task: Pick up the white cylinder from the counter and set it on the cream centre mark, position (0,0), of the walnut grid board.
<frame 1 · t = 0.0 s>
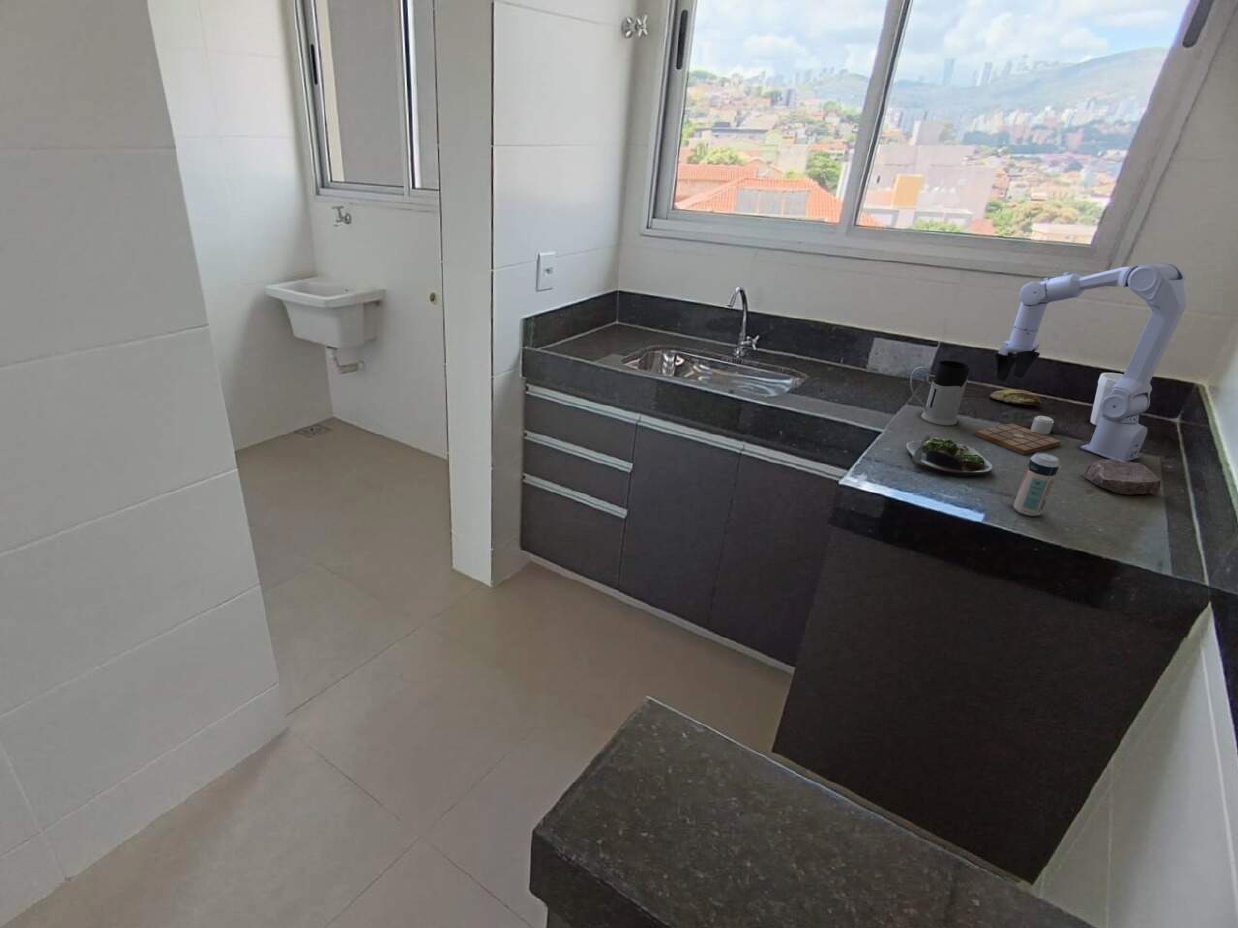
hand: (1009, 378, 178), 10 cm above the countertop, tool pointing down, fingers open, 7 cm apart
stone: (1119, 487, 143), on the countertop
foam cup: (1103, 424, 178), on the countertop
white cylinder: (1040, 431, 171), on the countertop
board: (1017, 440, 164), on the countertop
salad plate: (945, 463, 150), on the countertop
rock: (1014, 402, 192), on the countertop
supplement jar: (1026, 512, 130), on the countertop
glass holder: (928, 418, 175), on the countertop
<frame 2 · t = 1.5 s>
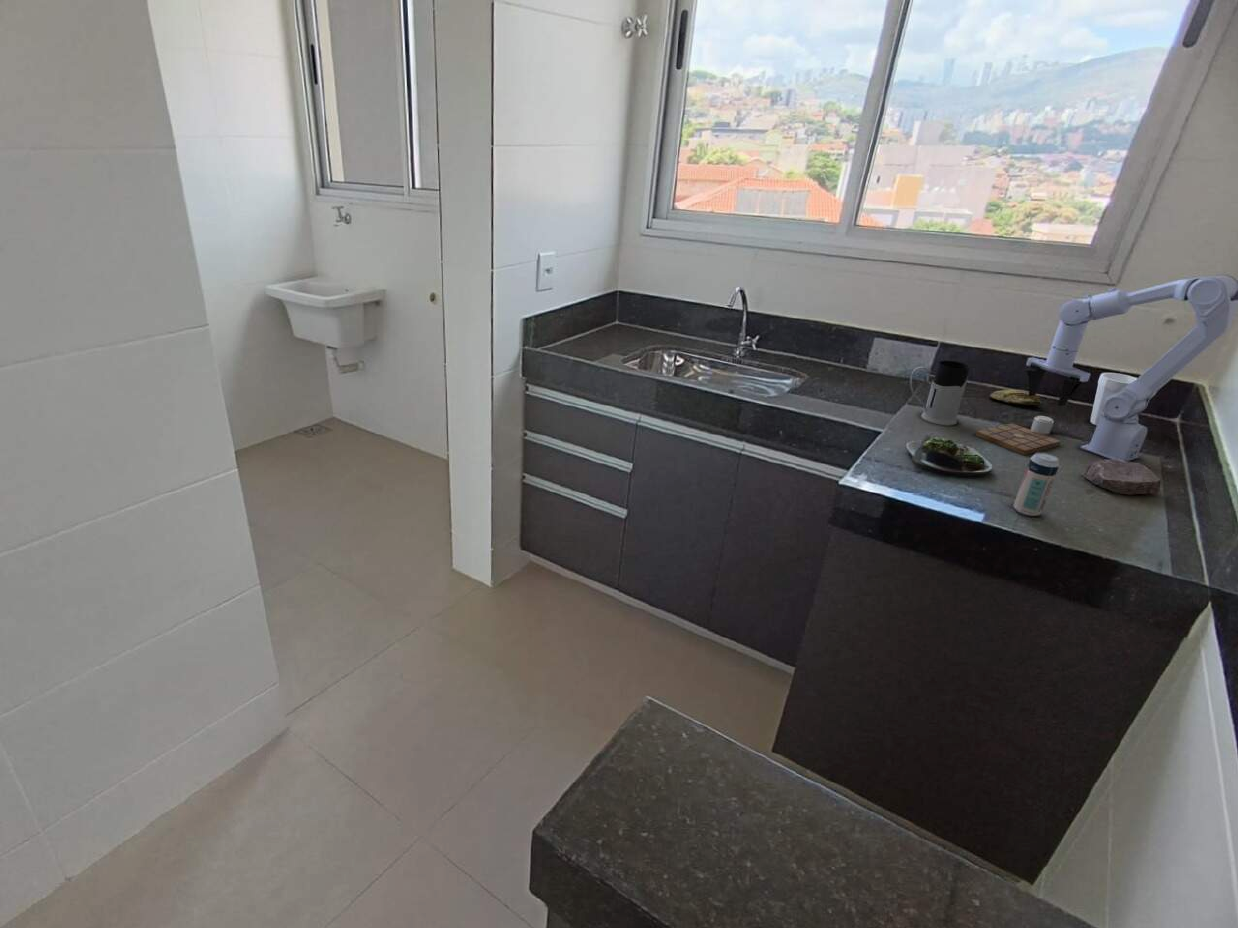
hand: (1046, 400, 168), 8 cm above the countertop, tool pointing down, fingers open, 7 cm apart
nothing on the countertop moved.
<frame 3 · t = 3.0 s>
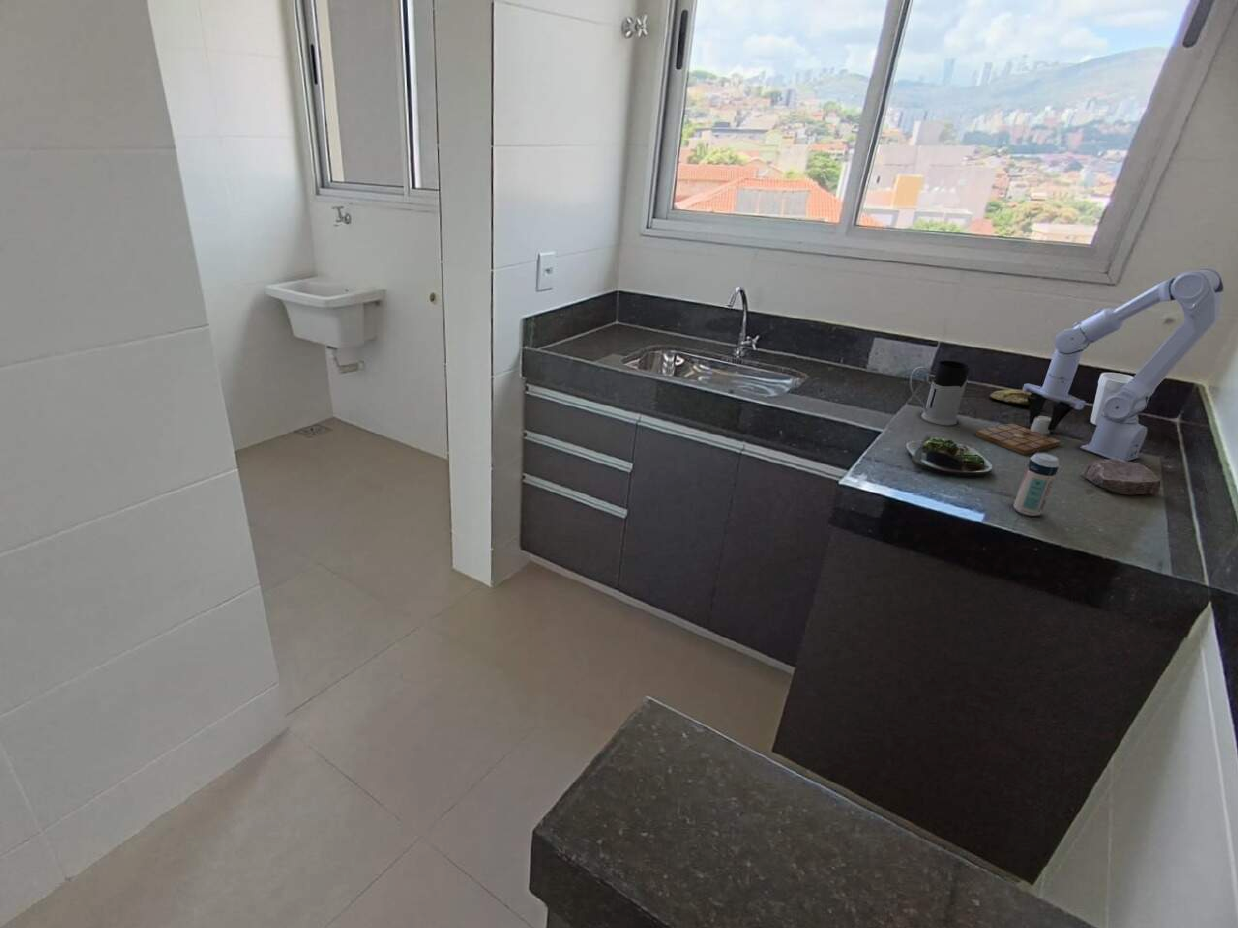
hand: (1042, 426, 170), 1 cm above the countertop, tool pointing down, fingers closed on white cylinder, 4 cm apart
white cylinder: (1040, 431, 171), on the countertop, touching gripper
everything else where it was.
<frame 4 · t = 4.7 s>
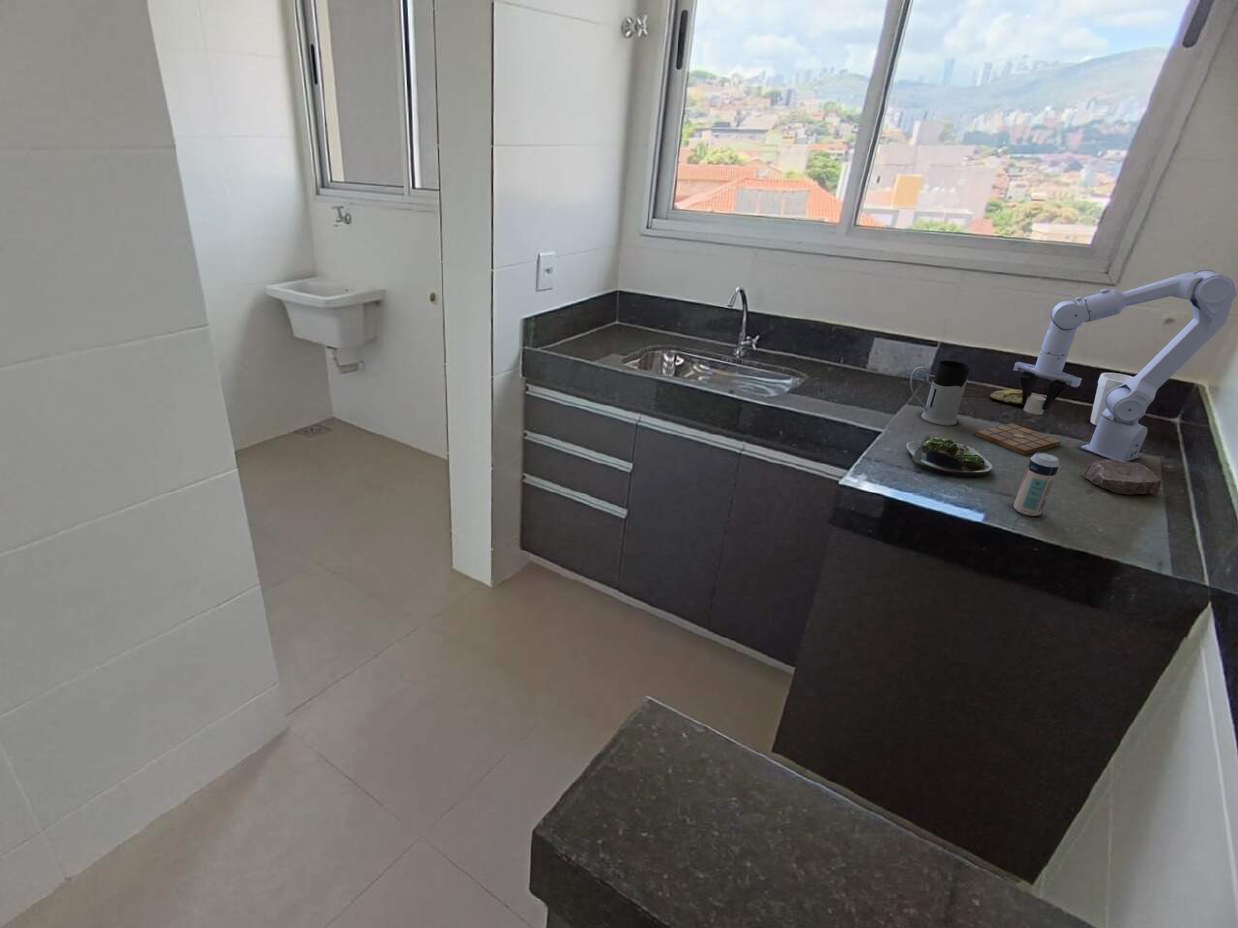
hand: (1035, 406, 163), 8 cm above the countertop, tool pointing down, fingers closed on white cylinder, 4 cm apart
white cylinder: (1033, 411, 163), point 7 cm above the countertop, touching gripper
everything else where it was.
when the fingers open (3 cm above the countertop, at t = 6.9 s): white cylinder stays where it is, resting on board.
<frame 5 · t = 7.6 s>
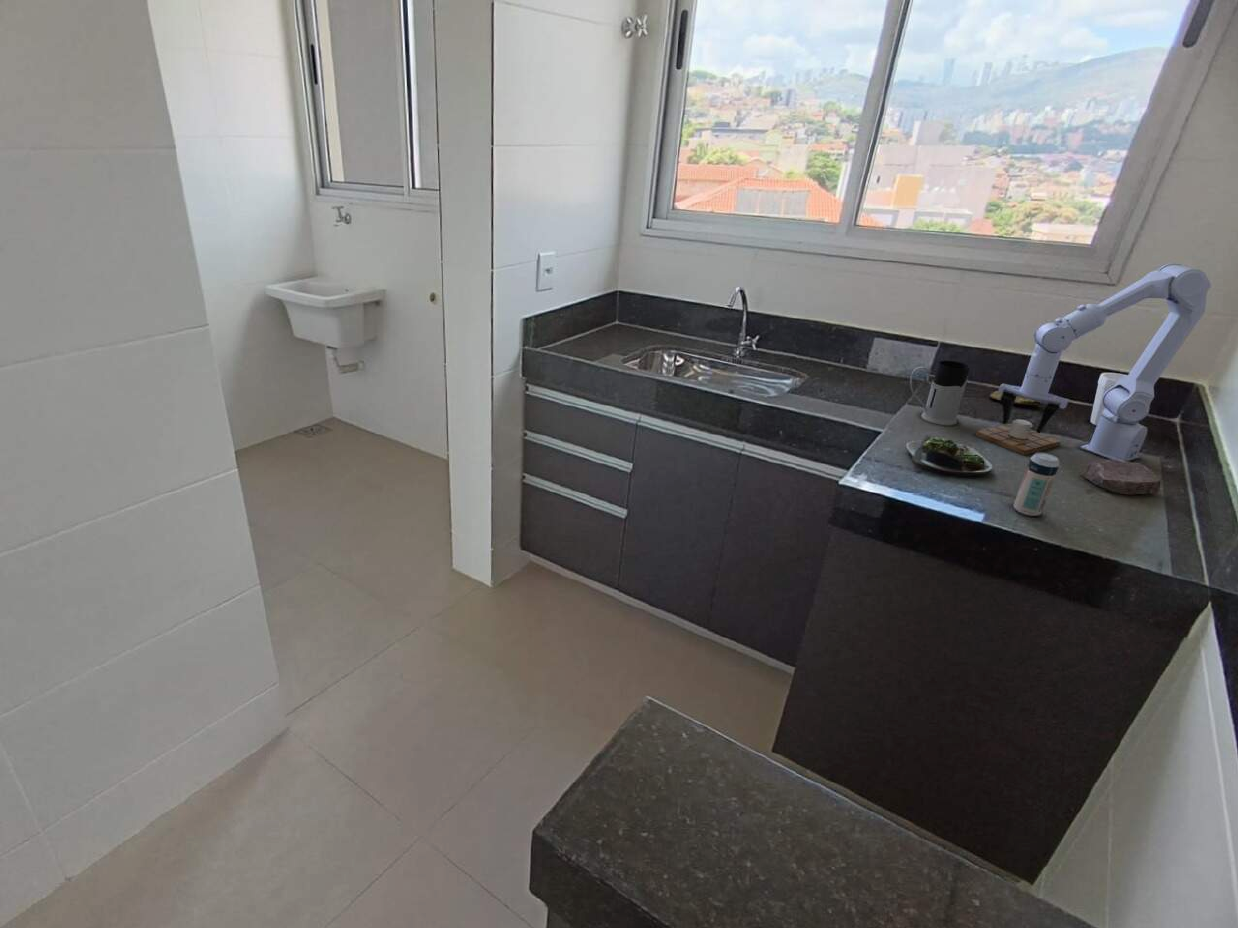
hand: (1021, 427, 163), 4 cm above the countertop, tool pointing down, fingers open, 7 cm apart
white cylinder: (1018, 435, 164), point 1 cm above the countertop, touching board
everything else where it was.
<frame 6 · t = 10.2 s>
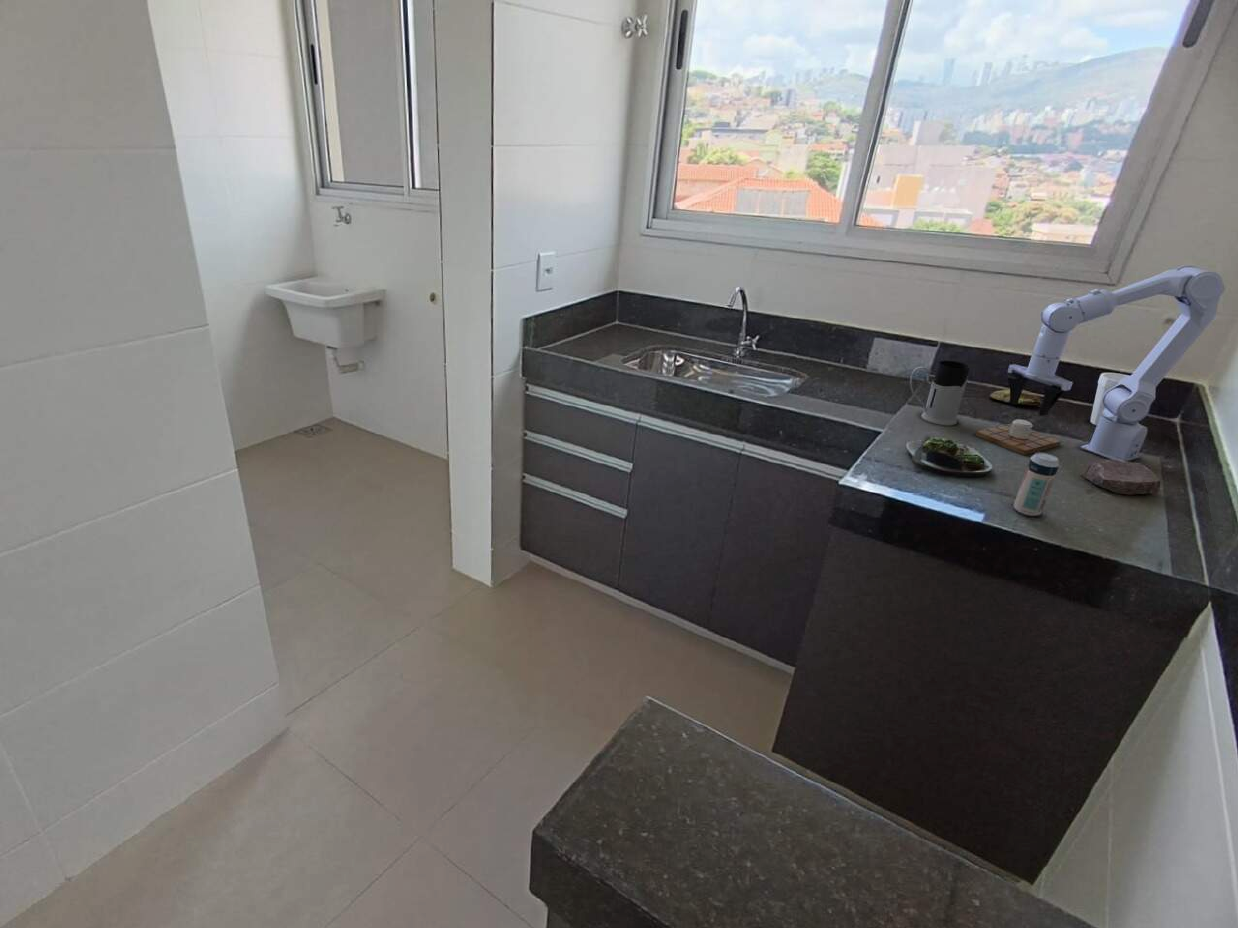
hand: (1027, 409, 161), 8 cm above the countertop, tool pointing down, fingers open, 7 cm apart
nothing on the countertop moved.
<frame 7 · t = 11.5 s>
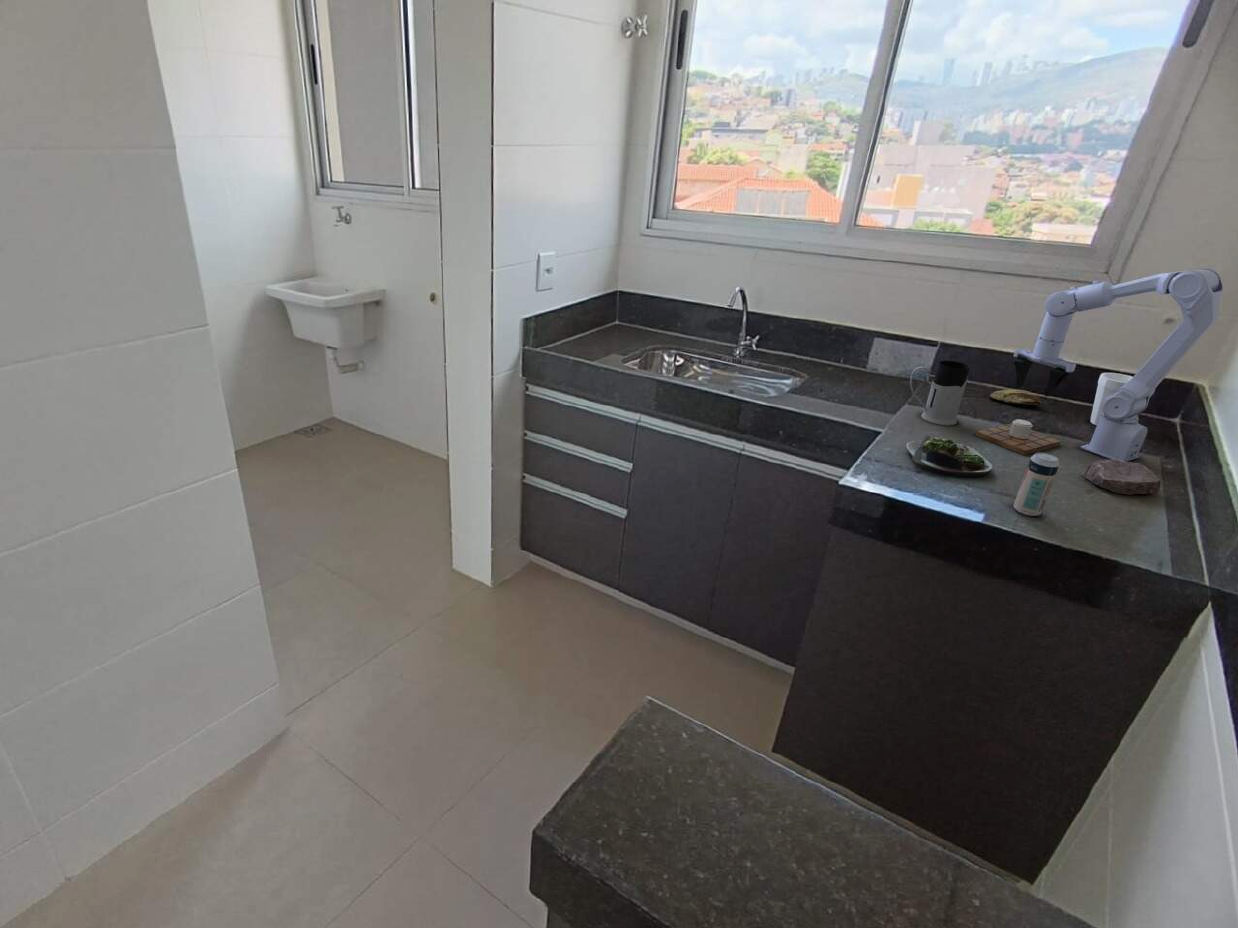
hand: (1033, 390, 171), 9 cm above the countertop, tool pointing down, fingers open, 7 cm apart
nothing on the countertop moved.
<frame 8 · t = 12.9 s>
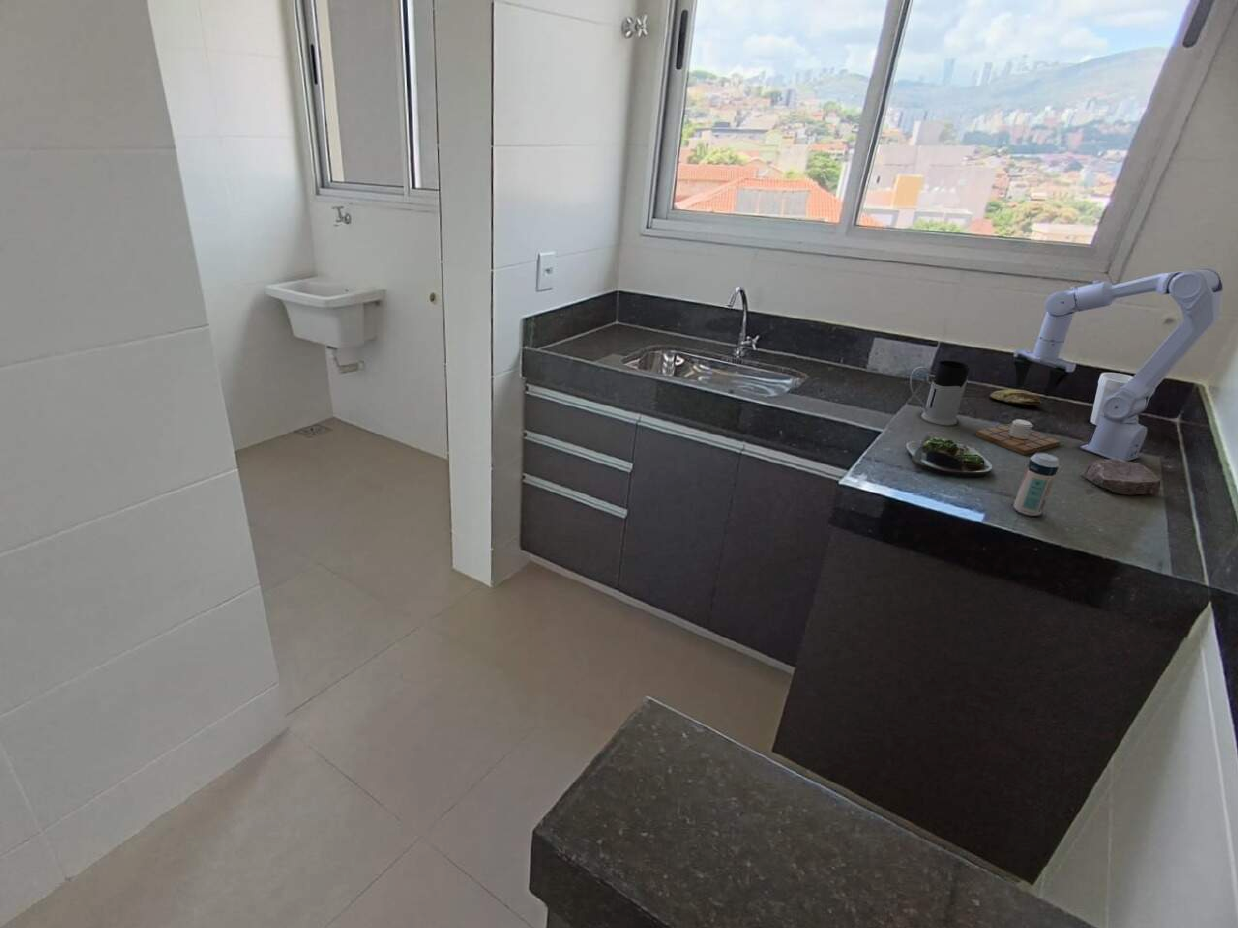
hand: (1033, 390, 171), 9 cm above the countertop, tool pointing down, fingers open, 7 cm apart
nothing on the countertop moved.
at the end: white cylinder 0.1 cm off-centre on the board, point 1.4 cm above the board's base; white cylinder tilted 0°; the gripper is holding nothing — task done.
